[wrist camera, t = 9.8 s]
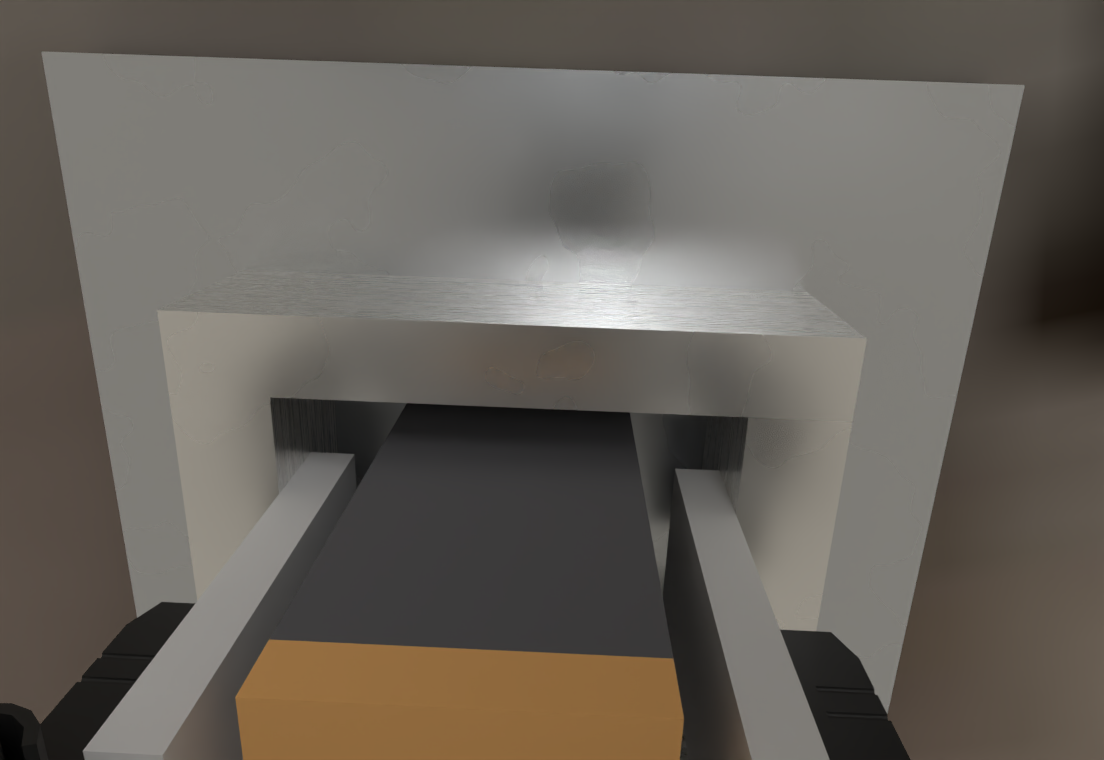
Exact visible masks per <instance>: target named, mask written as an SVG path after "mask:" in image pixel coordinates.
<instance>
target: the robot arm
mask: <svg viewBox="0 0 1104 760" xmlns="http://www.w3.org/2000/svg"><path fill="white" fill-rule="evenodd" d="M355 491H356V472H355V455H354V454H342V453H319V452H311V453H310V454H309V456H308V457H307V458H306V459H305V461H304V462H303V463H302V465H301V466H300V467H299V469H298V470H297V471H296V473H295V474H294V475H293V476H292V478H291V479H290V480H289V482H288V483H287V484H286V486H285V487H284V488H283V490H282V491H281V492H280V493H279V495H278V496H277V497H276V499H275V500H274V501H273V503H272V504H271V505H270V507H269V508H268V509H267V511H266V512H265V513H264V514H263V516H262V517H261V518H260V520H259V521H258V522H257V524H256V525H255V526H254V528H253V529H252V530H251V531H250V533H249V534H248V535H247V537H246V538H245V539H244V541H243V542H242V543H241V545H240V546H239V547H238V548H237V550H236V551H235V552H234V554H233V555H232V556H231V558H230V559H229V560H228V562H227V563H226V564H225V565H224V567H223V568H222V569H221V571H220V572H219V573H218V575H217V576H216V577H215V579H214V580H213V581H212V582H211V584H210V585H209V586H208V588H207V589H206V590H205V592H204V593H203V594H202V596H201V597H200V598H199V600H198V601H197V602H196V603H176V602H161V603H159V604H158V605H156V606H155V607H153V608H151V609H150V610H148V611H147V612H145V613H144V614H142V615H141V616H139V617H138V618H136V619H135V620H133V621H132V622H130V623H129V624H127V625H126V626H125V627H124V628H123V629H122V631H121V632H120V633H119V634H118V635H117V636H116V638H115V639H114V640H113V641H112V642H111V643H110V644H109V646H108V647H107V648H106V649H105V650H104V651H103V653H102V657H101V658H97V660H96V661H95V662H94V663H93V664H92V665H91V666H90V668H89V669H88V670H87V671H86V672H85V673H84V675H83V676H82V681H81V682H77V683H76V684H75V685H74V686H73V687H72V688H71V690H70V691H69V692H68V693H67V694H66V695H65V697H64V698H63V699H62V700H61V701H60V702H59V703H58V705H57V706H56V707H55V708H54V709H53V710H52V712H51V713H50V714H49V715H48V716H47V717H46V718H45V720H44V721H43V722H42V723H41V724H39V722H38V721H37V719H36V717H35V716H34V714H33V713H32V711H31V710H28V709H26V708H23V707H20V706H18V705H15V704H12V703H0V760H243V755H242V747H241V739H240V731H239V723H238V715H237V707H236V699H235V697H236V695H237V693H238V692H239V690H240V688H241V686H242V685H243V683H244V681H245V680H246V678H247V676H248V674H249V673H250V671H251V669H252V668H253V666H254V664H255V662H256V661H257V659H258V657H259V656H260V654H261V652H262V650H263V649H264V647H265V645H266V644H267V642H268V640H269V638H270V637H271V635H272V633H273V632H274V630H275V628H276V626H277V625H278V623H279V621H280V620H281V618H282V616H283V614H284V613H285V611H286V609H287V608H288V606H289V604H290V602H291V601H292V599H293V597H294V596H295V594H296V592H297V590H298V589H299V587H300V585H301V584H302V582H303V580H304V578H305V577H306V575H307V573H308V572H309V570H310V568H311V566H312V565H313V563H314V561H315V560H316V558H317V556H318V554H319V553H320V551H321V549H322V548H323V546H324V544H325V542H326V541H327V539H328V537H329V536H330V534H331V532H332V530H333V529H334V527H335V525H336V524H337V522H338V520H339V518H340V517H341V515H342V513H343V512H344V510H345V508H346V506H347V505H348V503H349V501H350V500H351V498H352V496H353V494H354V493H355ZM663 602H664V608H665V614H666V619H667V625H668V631H669V636H670V642H671V648H672V653H673V659H674V665H675V670H676V676H677V681H678V687H679V693H680V698H681V704H682V710H683V715H684V725H683V730H684V736H685V742H686V748H687V754H688V760H910V758H909V756H908V754H907V752H906V750H905V748H904V746H903V744H902V742H901V740H900V738H899V736H898V734H897V732H896V730H895V728H894V726H893V724H892V722H891V721H888V718H887V712H886V711H885V709H884V707H883V705H882V703H881V701H880V699H879V697H878V695H875V692H874V690H875V689H874V687H873V685H872V683H871V681H870V679H869V677H868V675H867V673H866V671H865V669H864V667H863V665H862V663H861V661H860V659H859V658H858V657H857V656H856V655H855V654H854V653H853V652H852V651H851V650H850V649H849V648H848V647H846V646H845V645H844V644H843V643H842V642H841V641H840V640H839V639H838V638H837V637H836V636H835V635H834V634H833V633H832V632H820V631H799V630H780V628H779V626H778V623H777V620H776V618H775V615H774V613H773V610H772V607H771V605H770V602H769V600H768V597H767V594H766V592H765V589H764V586H763V584H762V581H761V579H760V576H759V573H758V571H757V568H756V566H755V563H754V560H753V558H752V555H751V552H750V550H749V547H748V545H747V542H746V539H745V537H744V534H743V531H742V529H741V526H740V524H739V521H738V518H737V516H736V513H735V511H734V508H733V505H732V503H731V500H730V497H729V495H728V492H727V490H726V487H725V484H724V482H723V479H722V476H721V474H720V471H719V470H697V469H675V474H674V484H673V495H672V505H671V515H670V525H669V536H668V546H667V556H666V566H665V577H664V587H663Z"/></svg>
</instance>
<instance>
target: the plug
mask: <svg viewBox="0 0 1104 760" xmlns="http://www.w3.org/2000/svg"><path fill="white" fill-rule="evenodd" d="M235 699H236V707H237V715H238V723H239V731H240V739H241V747H242V755H243V760H680V752H681V743H682V734H683V725H684V715H683V710H682V704H681V698H680V693H679V687H678V681H677V676H676V670H675V665H674V659H673V653H672V648H671V642H670V636H669V631H668V625H667V619H666V614H665V608H664V602H663V597H662V591H661V586H660V580H659V574H658V569H657V563H656V557H655V552H654V546H653V540H652V535H651V529H650V524H649V518H648V512H647V507H646V501H645V495H644V490H643V484H642V479H641V473H640V467H639V462H638V456H637V450H636V445H635V439H634V433H633V428H632V422H631V417H630V412H608V411H584V410H560V409H536V408H512V407H488V406H465V405H441V404H417V403H407V404H406V405H405V407H404V409H403V411H402V412H401V414H400V416H399V417H398V419H397V421H396V423H395V424H394V426H393V428H392V429H391V431H390V433H389V435H388V436H387V438H386V440H385V441H384V443H383V445H382V447H381V448H380V450H379V452H378V453H377V455H376V457H375V459H374V460H373V462H372V464H371V465H370V467H369V469H368V471H367V472H366V474H365V476H364V477H363V479H362V481H361V483H360V484H359V486H358V488H357V489H356V491H355V493H354V494H353V496H352V498H351V500H350V501H349V503H348V505H347V506H346V508H345V510H344V512H343V513H342V515H341V517H340V518H339V520H338V522H337V524H336V525H335V527H334V529H333V530H332V532H331V534H330V536H329V537H328V539H327V541H326V542H325V544H324V546H323V548H322V549H321V551H320V553H319V554H318V556H317V558H316V560H315V561H314V563H313V565H312V566H311V568H310V570H309V572H308V573H307V575H306V577H305V578H304V580H303V582H302V584H301V585H300V587H299V589H298V590H297V592H296V594H295V596H294V597H293V599H292V601H291V602H290V604H289V606H288V608H287V609H286V611H285V613H284V614H283V616H282V618H281V620H280V621H279V623H278V625H277V626H276V628H275V630H274V632H273V633H272V635H271V637H270V638H269V640H268V642H267V644H266V645H265V647H264V649H263V650H262V652H261V654H260V656H259V657H258V659H257V661H256V662H255V664H254V666H253V668H252V669H251V671H250V673H249V674H248V676H247V678H246V680H245V681H244V683H243V685H242V686H241V688H240V690H239V692H238V693H237V695H236V697H235Z"/></svg>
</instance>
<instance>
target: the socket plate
mask: <svg viewBox="0 0 1104 760" xmlns="http://www.w3.org/2000/svg"><path fill="white" fill-rule="evenodd" d="M41 53H42V59H43V64H44V70H45V76H46V82H47V88H48V94H49V100H50V106H51V112H52V118H53V123H54V129H55V135H56V141H57V147H58V153H59V159H60V165H61V171H62V177H63V183H64V188H65V194H66V200H67V206H68V212H69V218H70V224H71V230H72V236H73V242H74V247H75V253H76V259H77V265H78V271H79V277H80V283H81V289H82V295H83V301H84V307H85V312H86V318H87V324H88V330H89V336H90V342H91V348H92V354H93V360H94V366H95V371H96V377H97V383H98V389H99V395H100V401H101V407H102V413H103V419H104V425H105V431H106V436H107V442H108V448H109V454H110V460H111V466H112V472H113V478H114V484H115V490H116V495H117V501H118V507H119V513H120V519H121V525H122V531H123V537H124V543H125V549H126V555H127V560H128V566H129V572H130V578H131V584H132V590H133V596H134V602H135V608H136V614H137V618H138V617H139V616H141V615H142V614H144V613H145V612H147V611H148V610H150V609H151V608H153V607H155V606H156V605H158V604H159V603H161V602H176V603H196V602H197V601H198V600H199V598H200V597H201V596H202V594H203V593H204V592H205V590H206V589H207V588H208V586H209V585H210V584H211V582H212V581H213V580H214V579H215V577H216V576H217V575H218V573H219V572H220V571H221V569H222V568H223V567H224V565H225V564H226V563H227V562H228V560H229V559H230V558H231V556H232V555H233V554H234V552H235V551H236V550H237V548H238V547H239V546H240V545H241V543H242V542H243V541H244V539H245V538H246V537H247V535H248V534H249V533H250V531H251V530H252V529H253V528H254V526H255V525H256V524H257V522H258V521H259V520H260V518H261V517H262V516H263V514H264V513H265V512H266V511H267V509H268V508H269V507H270V505H271V504H272V503H273V501H274V500H275V499H276V497H277V496H278V495H279V493H280V492H281V491H282V490H283V488H284V487H285V486H286V484H287V483H288V482H289V480H290V479H291V478H292V476H293V475H294V474H295V473H296V471H297V470H298V469H299V467H300V466H301V465H302V463H303V462H304V461H305V459H306V458H307V457H308V456H309V454H310V453H311V452H319V453H342V454H354V455H355V472H356V489H357V488H358V486H359V484H360V483H361V481H362V479H363V477H364V476H365V474H366V472H367V471H368V469H369V467H370V465H371V464H372V462H373V460H374V459H375V457H376V455H377V453H378V452H379V450H380V448H381V447H382V445H383V443H384V441H385V440H386V438H387V436H388V435H389V433H390V431H391V429H392V428H393V426H394V424H395V423H396V421H397V419H398V417H399V416H400V414H401V412H402V411H403V409H404V407H405V405H406V404H407V403H417V404H441V405H465V406H488V407H512V408H536V409H560V410H584V411H608V412H630V417H631V422H632V428H633V433H634V439H635V445H636V450H637V456H638V462H639V467H640V473H641V479H642V484H643V490H644V495H645V501H646V507H647V512H648V518H649V524H650V529H651V535H652V540H653V546H654V552H655V557H656V563H657V569H658V574H659V580H660V586H661V591H662V597H663V587H664V577H665V566H666V556H667V546H668V536H669V525H670V515H671V505H672V495H673V484H674V474H675V469H697V470H719V471H720V474H721V476H722V479H723V482H724V484H725V487H726V490H727V492H728V495H729V497H730V500H731V503H732V505H733V508H734V511H735V513H736V516H737V518H738V521H739V524H740V526H741V529H742V531H743V534H744V537H745V539H746V542H747V545H748V547H749V550H750V552H751V555H752V558H753V560H754V563H755V566H756V568H757V571H758V573H759V576H760V579H761V581H762V584H763V586H764V589H765V592H766V594H767V597H768V600H769V602H770V605H771V607H772V610H773V613H774V615H775V618H776V620H777V623H778V626H779V628H780V630H799V631H820V632H832V633H833V634H834V635H835V636H836V637H837V638H838V639H839V640H840V641H841V642H842V643H843V644H844V645H845V646H846V647H848V648H849V649H850V650H851V651H852V652H853V653H854V654H855V655H856V656H857V657H858V658H859V659H860V661H861V663H862V665H863V667H864V669H865V671H866V673H867V675H868V677H869V679H870V681H871V683H872V685H873V687H874V689H875V690H874V692H875V695H878V697H879V699H880V701H881V703H882V705H883V707H884V709H885V711H886V712H887V714H888V709H889V705H890V700H891V695H892V691H893V686H894V682H895V677H896V673H897V668H898V663H899V659H900V654H901V650H902V645H903V640H904V636H905V631H906V627H907V622H908V618H909V613H910V608H911V604H912V599H913V595H914V590H915V586H916V581H917V576H918V572H919V567H920V563H921V558H922V554H923V549H924V544H925V540H926V535H927V531H928V526H929V522H930V517H931V512H932V508H933V503H934V499H935V494H936V489H937V485H938V480H939V476H940V471H941V467H942V462H943V457H944V453H945V448H946V444H947V439H948V435H949V430H950V425H951V421H952V416H953V412H954V407H955V403H956V398H957V393H958V389H959V384H960V380H961V375H962V371H963V366H964V361H965V357H966V352H967V348H968V343H969V338H970V334H971V329H972V325H973V320H974V316H975V311H976V306H977V302H978V297H979V293H980V288H981V284H982V279H983V274H984V270H985V265H986V261H987V256H988V252H989V247H990V242H991V238H992V233H993V229H994V224H995V220H996V215H997V210H998V206H999V201H1000V197H1001V192H1002V187H1003V183H1004V178H1005V174H1006V169H1007V165H1008V160H1009V155H1010V151H1011V146H1012V142H1013V137H1014V133H1015V128H1016V123H1017V119H1018V114H1019V110H1020V105H1021V101H1022V96H1023V91H1024V87H1025V85H1010V84H980V83H951V82H922V81H892V80H863V79H834V78H804V77H775V76H746V75H716V74H687V73H658V72H628V71H599V70H570V69H540V68H511V67H482V66H452V65H423V64H394V63H364V62H335V61H306V60H277V59H247V58H218V57H189V56H159V55H130V54H101V53H71V52H42V51H41ZM680 760H688V754H687V748H686V742H685V736H684V730H683V734H682V743H681V752H680Z"/></svg>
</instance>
